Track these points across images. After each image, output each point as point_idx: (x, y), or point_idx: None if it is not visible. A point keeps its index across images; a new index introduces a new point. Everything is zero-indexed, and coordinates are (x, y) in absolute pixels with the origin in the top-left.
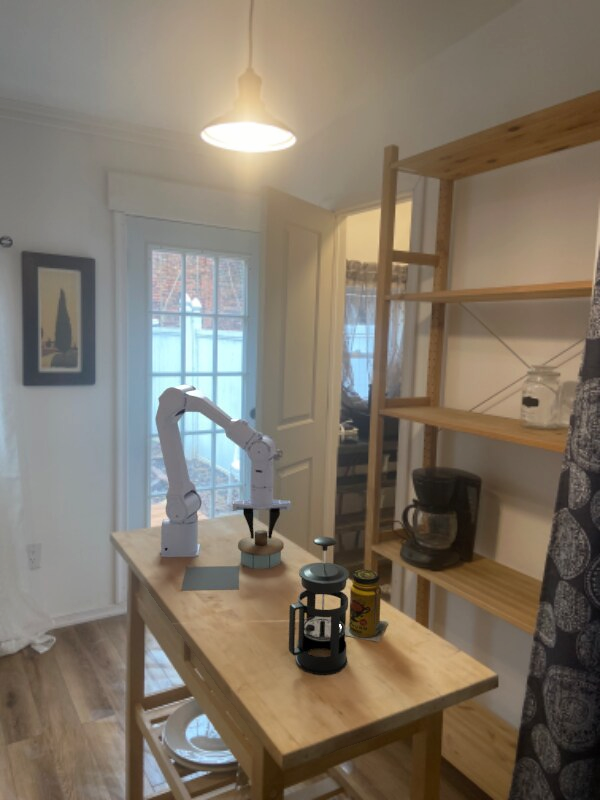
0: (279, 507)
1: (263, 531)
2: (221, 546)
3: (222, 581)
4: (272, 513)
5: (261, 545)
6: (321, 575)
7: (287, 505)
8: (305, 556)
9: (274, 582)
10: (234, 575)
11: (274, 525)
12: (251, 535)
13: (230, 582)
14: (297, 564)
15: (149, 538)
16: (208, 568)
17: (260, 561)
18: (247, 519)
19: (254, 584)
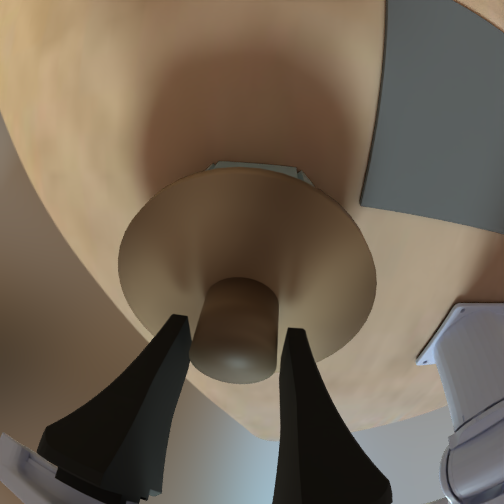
0: (63, 486)
1: (215, 368)
2: (362, 359)
3: (452, 64)
4: (81, 478)
5: (240, 278)
6: None
7: (3, 469)
8: (91, 264)
9: (204, 15)
10: (400, 106)
11: (115, 379)
12: (304, 343)
13: (423, 41)
14: (103, 202)
15: None
16: (471, 207)
17: None
18: (356, 460)
19: (309, 3)
